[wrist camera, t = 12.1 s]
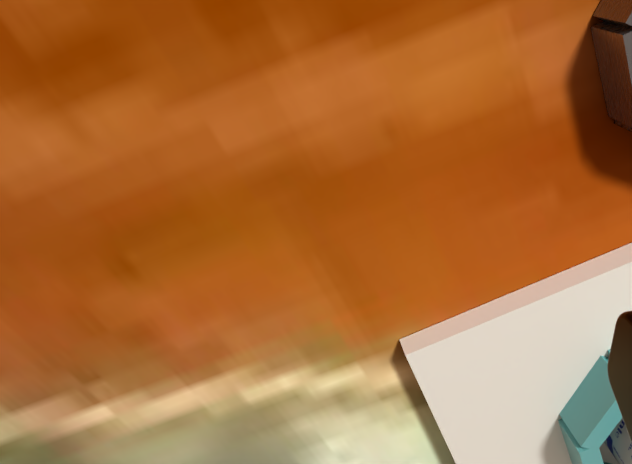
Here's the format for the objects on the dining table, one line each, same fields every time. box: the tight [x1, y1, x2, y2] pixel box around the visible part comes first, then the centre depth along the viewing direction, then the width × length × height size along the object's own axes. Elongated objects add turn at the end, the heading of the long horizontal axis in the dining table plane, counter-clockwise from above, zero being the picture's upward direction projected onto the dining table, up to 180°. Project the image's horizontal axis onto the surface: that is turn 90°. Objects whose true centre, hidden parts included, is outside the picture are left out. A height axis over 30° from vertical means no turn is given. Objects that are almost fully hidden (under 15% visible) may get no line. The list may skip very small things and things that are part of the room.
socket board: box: [399, 243, 632, 464], centre depth 25 cm, size 14×14×3 cm
